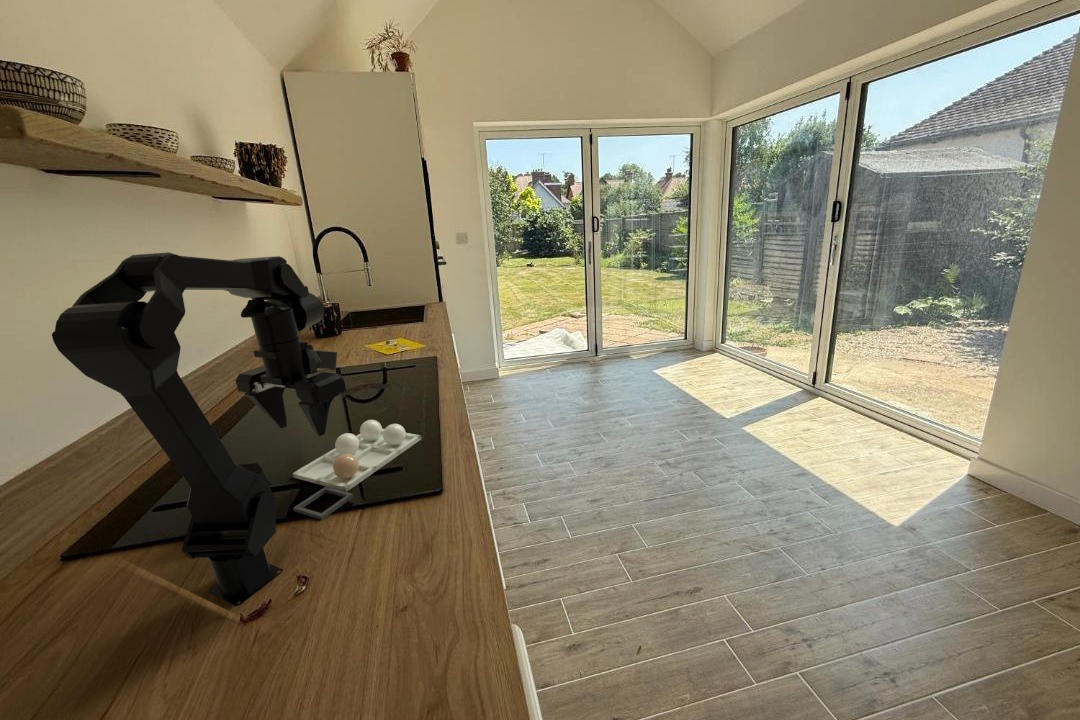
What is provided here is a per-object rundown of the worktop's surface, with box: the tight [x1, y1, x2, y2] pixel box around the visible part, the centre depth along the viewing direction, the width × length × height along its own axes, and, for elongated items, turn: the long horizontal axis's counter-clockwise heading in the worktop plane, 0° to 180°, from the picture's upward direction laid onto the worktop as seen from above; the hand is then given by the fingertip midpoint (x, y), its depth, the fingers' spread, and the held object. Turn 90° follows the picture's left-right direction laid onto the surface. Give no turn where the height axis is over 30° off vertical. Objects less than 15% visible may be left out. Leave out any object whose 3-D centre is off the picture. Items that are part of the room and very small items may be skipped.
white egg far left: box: [383, 423, 407, 446], centre depth 94 cm, size 4×4×4 cm
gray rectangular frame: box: [293, 486, 354, 521], centre depth 76 cm, size 6×6×1 cm
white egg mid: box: [334, 432, 359, 455], centre depth 91 cm, size 4×4×4 cm
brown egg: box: [333, 454, 359, 479], centre depth 83 cm, size 4×4×4 cm
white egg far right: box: [359, 419, 383, 441], centre depth 97 cm, size 4×4×4 cm
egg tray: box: [291, 428, 422, 492], centre depth 91 cm, size 14×20×2 cm
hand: (302, 431), depth 76 cm, fingers open, 9 cm apart
